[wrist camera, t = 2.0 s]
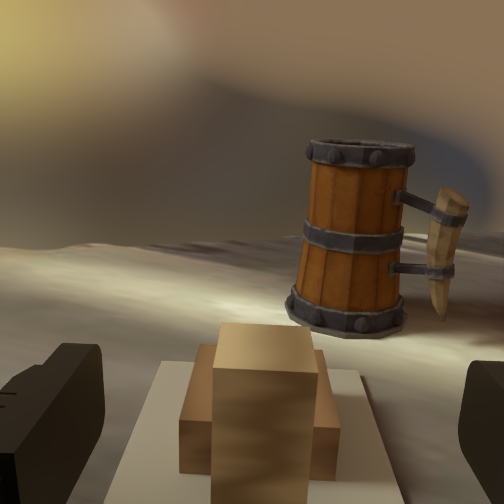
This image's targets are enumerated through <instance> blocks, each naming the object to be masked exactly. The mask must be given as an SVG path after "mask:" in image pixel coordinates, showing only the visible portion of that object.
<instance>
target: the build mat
mask: <svg viewBox="0 0 504 504" xmlns="http://www.w3.org/2000/svg"><path fill="white" fill-rule="evenodd" d="M194 363H195V362H176V361H162V362H161V364H160V367H159V369H158V372H157V374H156V376H155V379H154V381H153V384H152V386H151V389H150V391H149V393H148V396H147V398H146V401H145V403H144V406H143V408H142V411H141V413H140V415H139V418H138V420H137V423H136V425H135V428H134V430H133V432H132V435H131V437H130V440H129V442H128V445H127V447H126V449H125V452H124V454H123V457H122V459H121V462H120V464H119V467H118V469H117V471H116V474H115V476H114V479H113V481H112V484H111V486H110V488H109V491H108V493H107V496H106V498H105V501H104V503H103V504H210V497H211V475H202V474H183V473H179V417H180V414H181V410H182V406H183V403H184V399H185V396H186V392H187V388H188V385H189V381H190V378H191V374H192V371H193V367H194ZM327 372H328V376H329V380H330V384H331V389H332V393H333V397H334V402H335V406H336V410H337V414H338V419H339V423H340V427H341V430H340V439H339V449H338V458H337V467H336V476H335V481H317V480H309V485H308V497H307V504H404V501H403V498H402V495H401V493H400V490H399V487H398V484H397V481H396V478H395V475H394V473H393V470H392V467H391V464H390V461H389V458H388V455H387V453H386V450H385V447H384V444H383V441H382V438H381V435H380V433H379V430H378V427H377V424H376V421H375V418H374V415H373V413H372V410H371V407H370V404H369V401H368V398H367V395H366V393H365V390H364V387H363V384H362V381H361V378H360V375H359V373H358V370H340V369H327Z"/></svg>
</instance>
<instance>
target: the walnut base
mask: <svg viewBox="0 0 504 504" xmlns="http://www.w3.org/2000/svg"><path fill="white" fill-rule="evenodd" d="M216 349H217V345H209V344H200V345H199V349H198V353H197V356H196V360H195V363H194V367H193V371H192V374H191V378H190V381H189V385H188V388H187V392H186V396H185V399H184V403H183V406H182V410H181V414H180V417H179V473H183V474H202V475H211V441H212V385H213V364H214V359H215V354H216ZM314 353H315V358H316V363H317V368H318V384H317V395H316V406H315V418H314V429H313V440H312V451H311V463H310V474H309V480H317V481H335V476H336V467H337V458H338V449H339V439H340V430H341V427H340V423H339V419H338V414H337V410H336V406H335V402H334V397H333V393H332V389H331V384H330V380H329V376H328V372H327V367H326V363H325V359H324V355H323V350H314Z"/></svg>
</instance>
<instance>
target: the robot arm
mask: <svg viewBox="0 0 504 504" xmlns="http://www.w3.org/2000/svg"><path fill="white" fill-rule="evenodd" d="M104 417H105V399H104V383H103V367H102V353H101V349H100V347H99V345H97V344H77V343H62V344H61V345H60V346H59V347H58V348H57V349H56V350H55V351H54V352H53V354H52V355H51V356H50V357H49V358H48V359H47V360H46V361H45V363H44V364H43V365H33V366H32V367H30V368H28V369H26V370H24V371H23V372H21V373H19V374H17V375H16V376H14V377H12V378H11V380H10V381H9V382H8V383H7V384H6V385H5V386H4V387H3V388H2V389H1V390H0V504H66V502H67V500H68V498H69V496H70V494H71V492H72V490H73V488H74V486H75V484H76V482H77V480H78V479H79V477H80V475H81V473H82V471H83V469H84V467H85V465H86V463H87V461H88V459H89V457H90V455H91V453H92V451H93V449H94V447H95V445H96V443H97V441H98V439H99V437H100V435H101V432H102V428H103V424H104ZM458 437H459V443H460V447H461V450H462V453H463V455H464V457H465V458H466V460H467V462H468V463H469V465H470V467H471V469H472V470H473V472H474V474H475V476H476V477H477V479H478V481H479V483H480V484H481V486H482V488H483V489H484V491H485V493H486V495H487V496H488V498H489V500H490V502H491V503H492V504H504V362H503V361H479V360H475V361H472V362H471V364H470V365H469V368H468V371H467V376H466V382H465V388H464V394H463V399H462V405H461V411H460V417H459V423H458Z"/></svg>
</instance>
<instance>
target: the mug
mask: <svg viewBox="0 0 504 504" xmlns="http://www.w3.org/2000/svg"><path fill="white" fill-rule="evenodd" d="M414 149H415V146H414V145H410V144H405V143H396V142H386V141H372V140H371V141H370V140H353V139H315V140H311V141H310V145H309V146H308V147H307V149H306V156H307V158H308V159H310V160H311V161H312V169H311V184H310V197H309V210H308V218H307V219H305V220H304V230H303V237H304V243H303V248H302V254H301V259H300V265H299V271H298V276H297V282H296V284H295V285H293V286H292V287H291V295H290V296H288V297H287V299H286V301H285V308H286V310H287V313H288V316H289V318H290V319H291V320H293V321H295V322H296V323H298V324H300V325H302V326H303V327H309V328H310V331H313V332H317V333H322V334H326V335H330V336H335V337H339V338H343V339H380V338H382V337H385V336H388V335H391V334H394V333H397V332H399V331H402V328H403V326H404V323H405V321H406V317H407V314H406V313H405V312H404V311H403V310H402V306H403V304H404V300H403V297H402V296H401V295H400V294H399V277H400V273H408V274H423V275H425V276H426V277H427V278H428V281H429V287H430V292H431V298H432V303H433V306H434V308H435V310H436V312H437V314H438V316H439V318H440V319H441V321H446V310H447V300H448V292H449V285H450V279H451V278H454V275H455V273H454V264H453V260H454V254H455V249H456V246H457V243H458V239H459V236H460V232H461V228H462V227H463V226H464V224H465V222H466V219H467V216H468V214H467V212H468V209H469V202H468V201H467V200H466V199H465V198H464V197H463V196H462V195H461V194H459V193H457V192H456V191H454V190H452V189H450V188H448V187H443V186H442V187H441V189H440V193H439V195H438V198H437V201H436V204H433V203H431V202H429V201H426V200H424V199H422V198H419V197H417V196H415V195H412V194H410V193H408V192H406V190H407V189H406V181H407V173H408V167H409V166H411V165H413V163H414V162H415V153H414ZM404 203H405V204H407V205H410V206H412V207H415V208H417V209H419V210H422V211H424V212H426V213H429V214H430V218H431V220H430V226H429V233H428V239H427V264H405V263H400V246H401V245H402V240H403V233H404V227H403V226H401V219H402V211H403V204H404Z"/></svg>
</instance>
